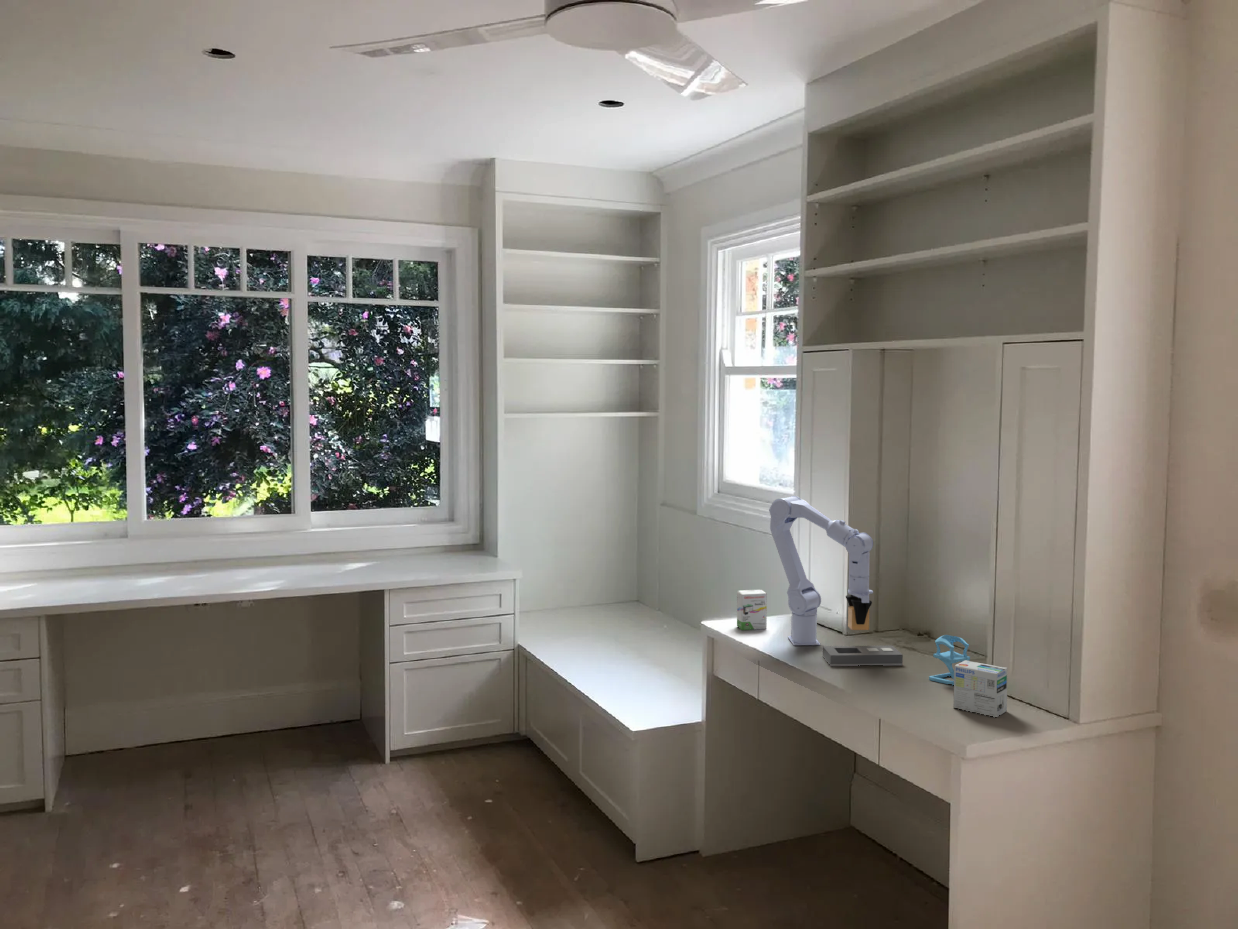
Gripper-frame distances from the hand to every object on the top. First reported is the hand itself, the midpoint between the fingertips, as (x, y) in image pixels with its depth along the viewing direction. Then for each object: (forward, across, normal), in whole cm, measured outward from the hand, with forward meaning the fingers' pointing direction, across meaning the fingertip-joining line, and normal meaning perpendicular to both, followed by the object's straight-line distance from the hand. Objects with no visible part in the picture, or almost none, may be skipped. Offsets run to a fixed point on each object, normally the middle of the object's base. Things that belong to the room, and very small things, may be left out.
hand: (858, 622), depth 285 cm
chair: (+9, -29, -17) cm, 34 cm away
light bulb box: (+9, -51, -15) cm, 54 cm away
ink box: (+9, +30, +26) cm, 40 cm away
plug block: (+2, 0, 0) cm, 2 cm away
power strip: (+9, -8, +1) cm, 12 cm away
